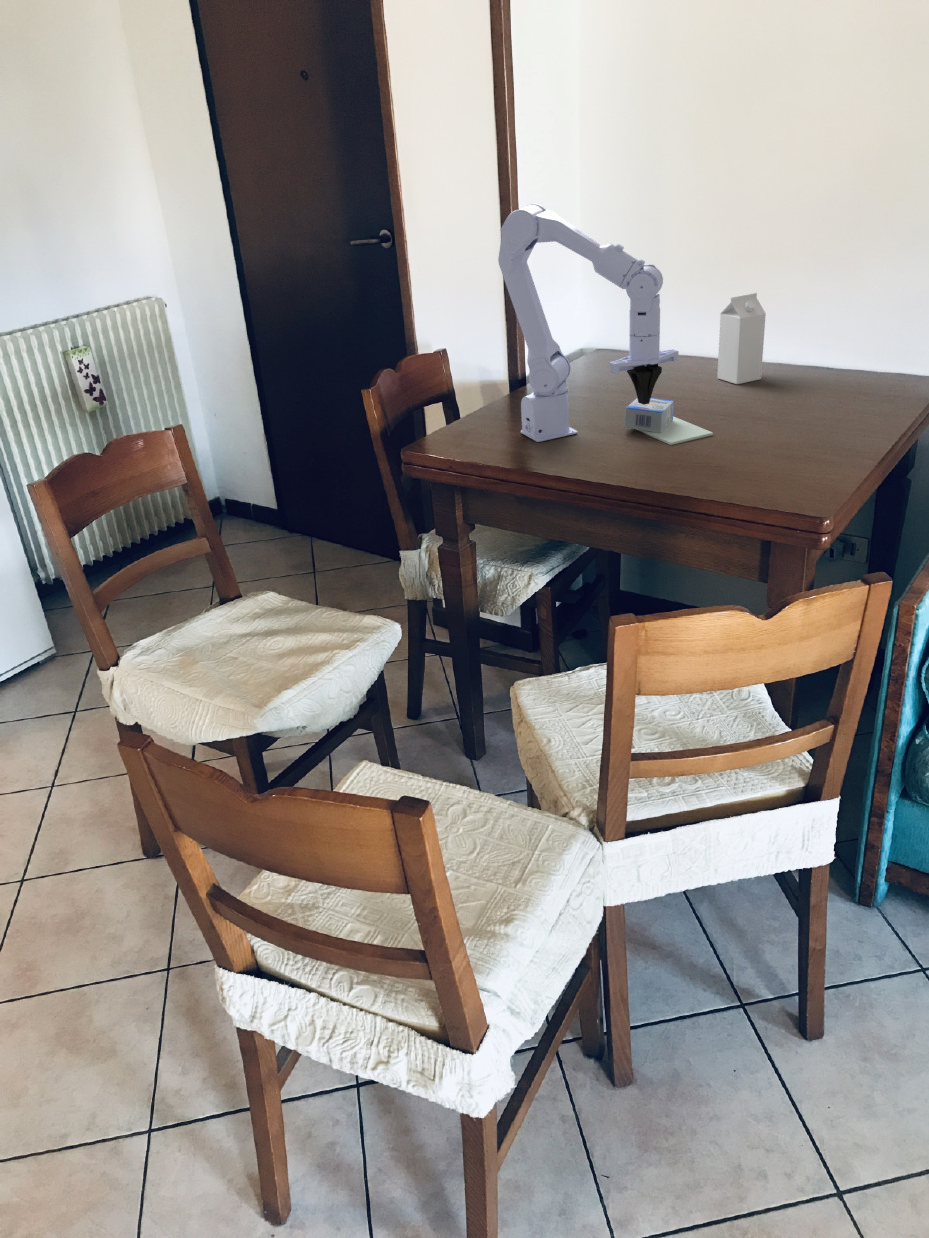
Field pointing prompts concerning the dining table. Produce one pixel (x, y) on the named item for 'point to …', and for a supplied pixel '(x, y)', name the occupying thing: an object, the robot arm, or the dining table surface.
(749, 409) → the dining table surface
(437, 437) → the dining table surface
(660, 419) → the medicine box
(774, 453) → the dining table surface
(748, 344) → the milk carton
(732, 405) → the dining table surface
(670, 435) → the mat
